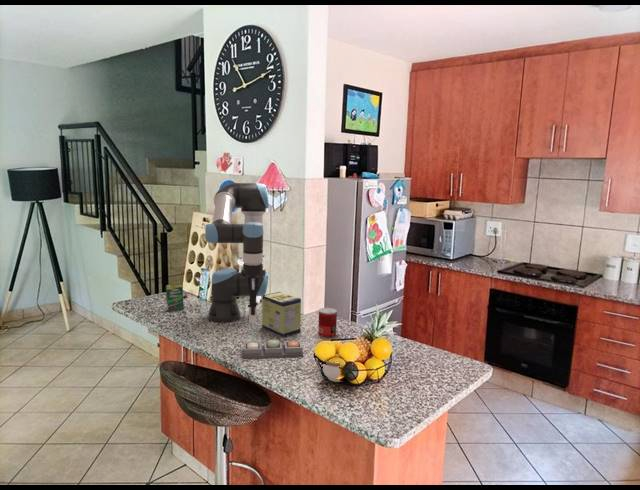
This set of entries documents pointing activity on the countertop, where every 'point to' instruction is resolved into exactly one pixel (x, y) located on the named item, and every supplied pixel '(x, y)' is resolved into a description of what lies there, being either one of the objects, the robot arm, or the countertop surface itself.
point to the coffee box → (174, 297)
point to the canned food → (327, 322)
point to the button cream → (252, 346)
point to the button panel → (273, 351)
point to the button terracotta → (293, 344)
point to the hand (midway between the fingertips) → (252, 321)
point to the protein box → (281, 313)
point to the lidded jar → (332, 370)
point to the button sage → (273, 344)
